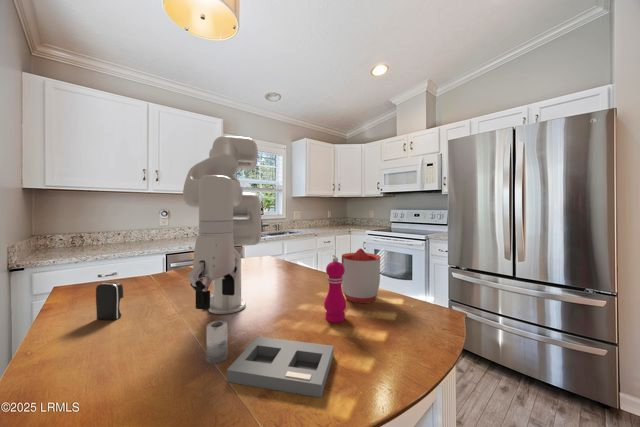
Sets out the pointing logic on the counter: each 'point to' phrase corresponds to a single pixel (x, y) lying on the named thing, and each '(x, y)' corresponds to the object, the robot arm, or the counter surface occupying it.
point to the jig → (283, 366)
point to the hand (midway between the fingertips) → (216, 301)
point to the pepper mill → (335, 292)
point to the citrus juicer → (361, 276)
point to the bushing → (216, 342)
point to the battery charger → (108, 300)
